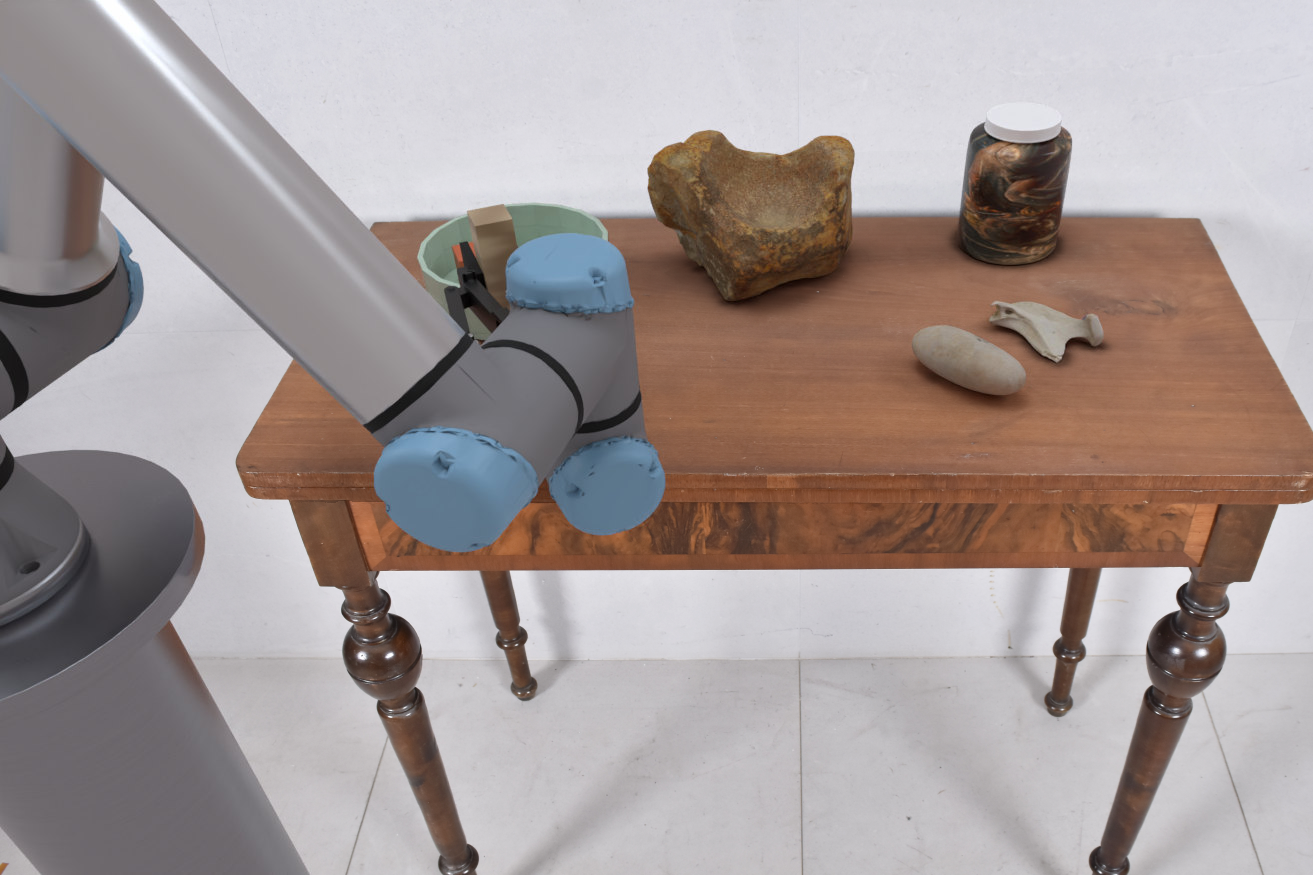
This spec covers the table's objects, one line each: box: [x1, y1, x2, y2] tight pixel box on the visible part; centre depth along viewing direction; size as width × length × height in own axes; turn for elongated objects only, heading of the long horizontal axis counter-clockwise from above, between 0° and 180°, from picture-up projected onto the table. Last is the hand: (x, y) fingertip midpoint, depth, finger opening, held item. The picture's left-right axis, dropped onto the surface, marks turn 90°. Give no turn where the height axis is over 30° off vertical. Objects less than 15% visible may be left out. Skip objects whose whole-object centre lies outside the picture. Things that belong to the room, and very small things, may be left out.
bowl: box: [416, 202, 610, 341], centre depth 118 cm, size 20×20×6 cm
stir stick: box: [466, 203, 517, 310], centre depth 96 cm, size 3×3×16 cm
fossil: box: [989, 300, 1104, 363], centre depth 110 cm, size 7×11×3 cm, turn 41°
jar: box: [956, 101, 1073, 266], centre depth 122 cm, size 12×12×15 cm
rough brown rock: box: [647, 129, 856, 302], centre depth 117 cm, size 23×17×15 cm
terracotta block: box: [452, 242, 476, 269], centre depth 119 cm, size 4×4×4 cm
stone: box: [911, 324, 1027, 396], centre depth 103 cm, size 6×6×12 cm
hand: (487, 251), depth 98 cm, fingers closed on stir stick, 3 cm apart
